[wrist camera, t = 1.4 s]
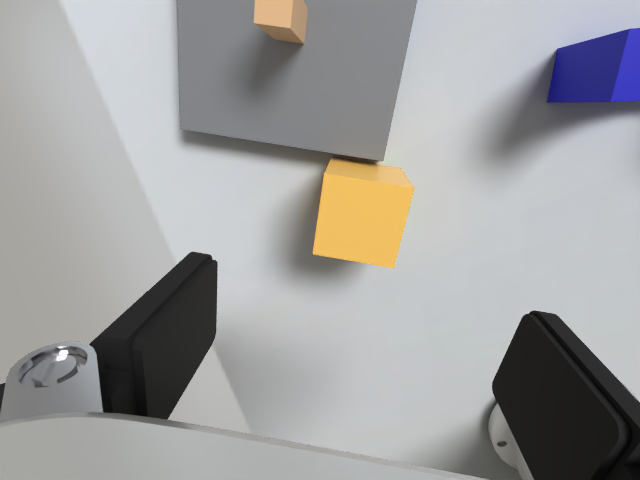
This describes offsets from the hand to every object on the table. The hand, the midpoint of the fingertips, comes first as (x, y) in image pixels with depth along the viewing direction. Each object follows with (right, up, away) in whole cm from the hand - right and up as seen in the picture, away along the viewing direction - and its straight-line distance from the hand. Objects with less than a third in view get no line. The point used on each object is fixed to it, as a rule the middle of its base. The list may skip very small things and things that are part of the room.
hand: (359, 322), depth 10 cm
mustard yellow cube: (+2, +6, +15) cm, 16 cm away
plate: (-3, +16, +11) cm, 19 cm away
